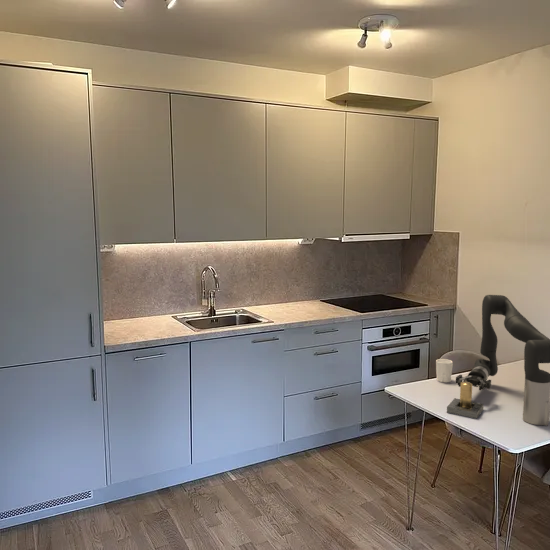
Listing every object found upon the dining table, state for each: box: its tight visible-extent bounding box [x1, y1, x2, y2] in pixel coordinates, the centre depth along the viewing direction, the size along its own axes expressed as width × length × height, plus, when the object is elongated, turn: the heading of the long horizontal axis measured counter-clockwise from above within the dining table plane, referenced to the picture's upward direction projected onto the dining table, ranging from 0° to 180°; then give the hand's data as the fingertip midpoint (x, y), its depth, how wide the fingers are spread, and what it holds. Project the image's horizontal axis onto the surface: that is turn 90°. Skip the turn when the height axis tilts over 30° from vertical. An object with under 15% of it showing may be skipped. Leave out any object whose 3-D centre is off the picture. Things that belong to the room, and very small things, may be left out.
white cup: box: [435, 358, 453, 383], centre depth 250 cm, size 8×8×10 cm
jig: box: [446, 398, 485, 420], centre depth 211 cm, size 12×12×2 cm
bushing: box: [459, 381, 473, 409], centre depth 211 cm, size 5×5×12 cm
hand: (469, 386), depth 216 cm, fingers open, 8 cm apart
